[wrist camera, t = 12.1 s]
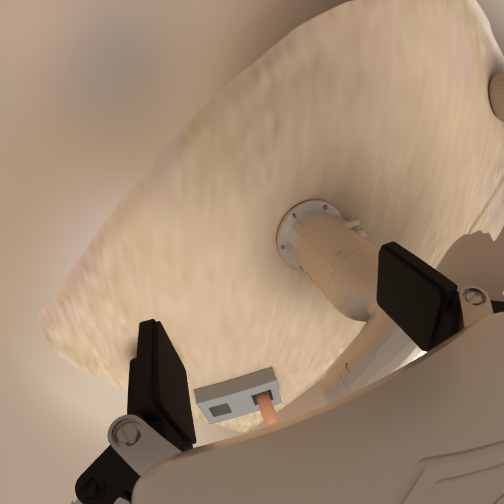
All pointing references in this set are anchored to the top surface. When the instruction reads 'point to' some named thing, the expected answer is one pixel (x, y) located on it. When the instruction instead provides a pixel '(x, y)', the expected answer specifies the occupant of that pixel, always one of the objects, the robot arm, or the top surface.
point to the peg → (266, 408)
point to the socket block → (236, 396)
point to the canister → (497, 95)
